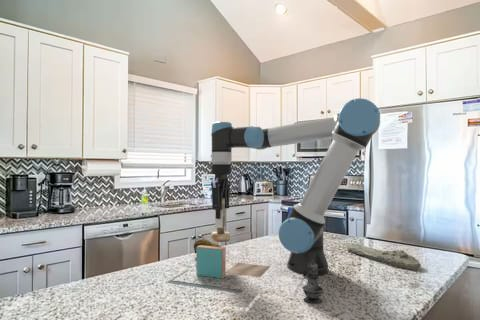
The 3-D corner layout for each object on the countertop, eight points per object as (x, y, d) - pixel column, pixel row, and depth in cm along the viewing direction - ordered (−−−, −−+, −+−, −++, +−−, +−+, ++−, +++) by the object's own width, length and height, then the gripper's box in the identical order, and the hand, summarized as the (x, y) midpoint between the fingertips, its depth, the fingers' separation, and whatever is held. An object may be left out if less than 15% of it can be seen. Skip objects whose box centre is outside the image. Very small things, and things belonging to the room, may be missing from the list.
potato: (225, 259, 141) (225, 240, 141) (194, 261, 138) (194, 242, 138) (221, 254, 149) (221, 236, 149) (192, 256, 146) (192, 237, 146)
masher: (232, 238, 129) (233, 197, 129) (225, 242, 122) (226, 199, 122) (215, 237, 131) (216, 197, 131) (208, 241, 124) (208, 198, 125)
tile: (225, 276, 117) (225, 247, 117) (222, 279, 115) (222, 249, 115) (199, 273, 121) (199, 245, 121) (196, 275, 118) (196, 246, 118)
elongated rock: (358, 251, 160) (342, 255, 156) (357, 240, 160) (341, 243, 156) (427, 268, 129) (410, 273, 124) (426, 254, 129) (409, 258, 125)
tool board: (270, 268, 128) (270, 266, 128) (260, 279, 116) (260, 276, 116) (238, 265, 133) (238, 262, 133) (225, 275, 121) (225, 272, 121)
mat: (254, 280, 115) (254, 278, 115) (240, 295, 102) (240, 293, 102) (187, 272, 124) (187, 270, 124) (166, 284, 111) (166, 282, 111)
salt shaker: (300, 297, 101) (300, 256, 102) (319, 296, 102) (319, 256, 102) (305, 305, 96) (305, 262, 96) (326, 304, 96) (325, 262, 96)
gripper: (220, 163, 135) (220, 222, 135) (202, 163, 121) (202, 229, 120) (238, 163, 133) (237, 223, 133) (222, 163, 118) (221, 231, 118)
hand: (220, 226), depth 126 cm, fingers closed on masher, 3 cm apart
